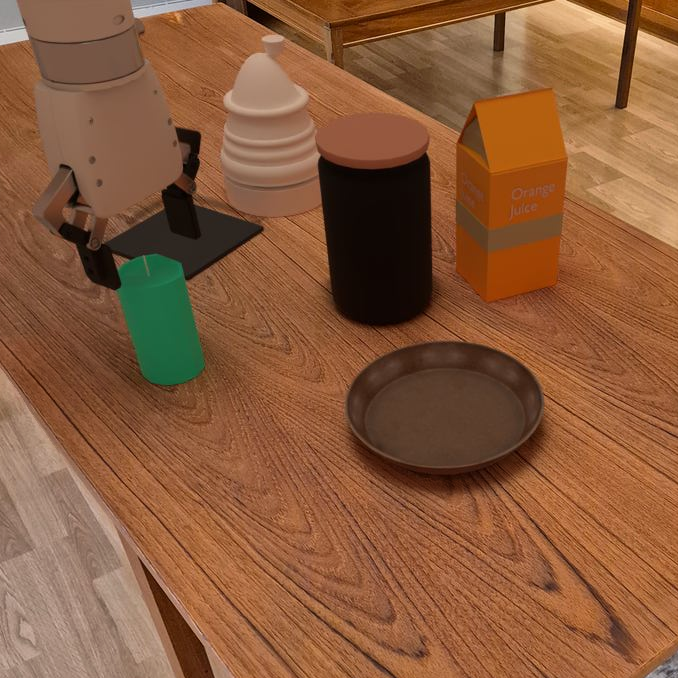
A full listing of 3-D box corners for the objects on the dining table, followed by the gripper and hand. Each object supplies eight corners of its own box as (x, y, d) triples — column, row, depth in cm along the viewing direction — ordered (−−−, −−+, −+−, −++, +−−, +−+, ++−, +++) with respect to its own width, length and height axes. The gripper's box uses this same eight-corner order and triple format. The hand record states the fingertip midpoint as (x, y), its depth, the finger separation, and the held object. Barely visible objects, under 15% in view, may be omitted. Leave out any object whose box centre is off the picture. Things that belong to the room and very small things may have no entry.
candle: (175, 392, 83) (144, 280, 75) (127, 373, 85) (92, 261, 77) (218, 359, 87) (193, 249, 79) (172, 341, 89) (142, 232, 81)
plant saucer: (343, 495, 74) (339, 469, 72) (350, 367, 87) (347, 341, 84) (553, 488, 75) (556, 461, 73) (530, 362, 88) (532, 336, 86)
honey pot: (304, 161, 119) (286, 16, 106) (347, 201, 111) (333, 49, 99) (212, 183, 114) (181, 33, 101) (250, 226, 106) (222, 69, 93)
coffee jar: (413, 266, 100) (407, 105, 88) (447, 317, 93) (446, 149, 81) (321, 285, 97) (301, 120, 84) (349, 338, 90) (332, 167, 77)
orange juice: (557, 285, 98) (574, 101, 84) (486, 303, 95) (492, 116, 81) (522, 252, 103) (533, 73, 89) (454, 269, 100) (454, 86, 86)
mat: (101, 249, 102) (100, 245, 101) (181, 203, 110) (180, 199, 109) (188, 280, 97) (187, 276, 97) (264, 230, 105) (263, 226, 105)
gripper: (137, 13, 73) (184, 208, 85) (-45, 81, 62) (39, 294, 74) (207, 28, 70) (245, 227, 82) (31, 102, 59) (104, 319, 71)
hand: (147, 259), depth 78 cm, fingers open, 9 cm apart
